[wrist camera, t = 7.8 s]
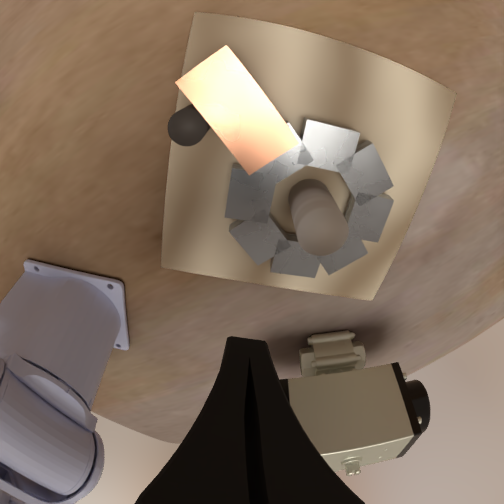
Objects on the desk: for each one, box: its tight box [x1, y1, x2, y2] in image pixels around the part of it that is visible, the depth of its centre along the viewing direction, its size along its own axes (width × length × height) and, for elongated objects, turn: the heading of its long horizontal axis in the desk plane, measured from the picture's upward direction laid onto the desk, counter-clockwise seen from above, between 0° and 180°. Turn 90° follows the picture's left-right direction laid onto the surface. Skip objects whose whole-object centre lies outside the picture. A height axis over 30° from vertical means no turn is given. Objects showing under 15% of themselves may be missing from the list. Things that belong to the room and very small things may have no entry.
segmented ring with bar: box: [175, 45, 394, 278], centre depth 15 cm, size 14×9×3 cm, turn 35°
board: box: [161, 12, 457, 301], centre depth 15 cm, size 15×16×5 cm
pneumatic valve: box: [279, 330, 430, 476], centre depth 21 cm, size 6×12×12 cm, turn 97°
